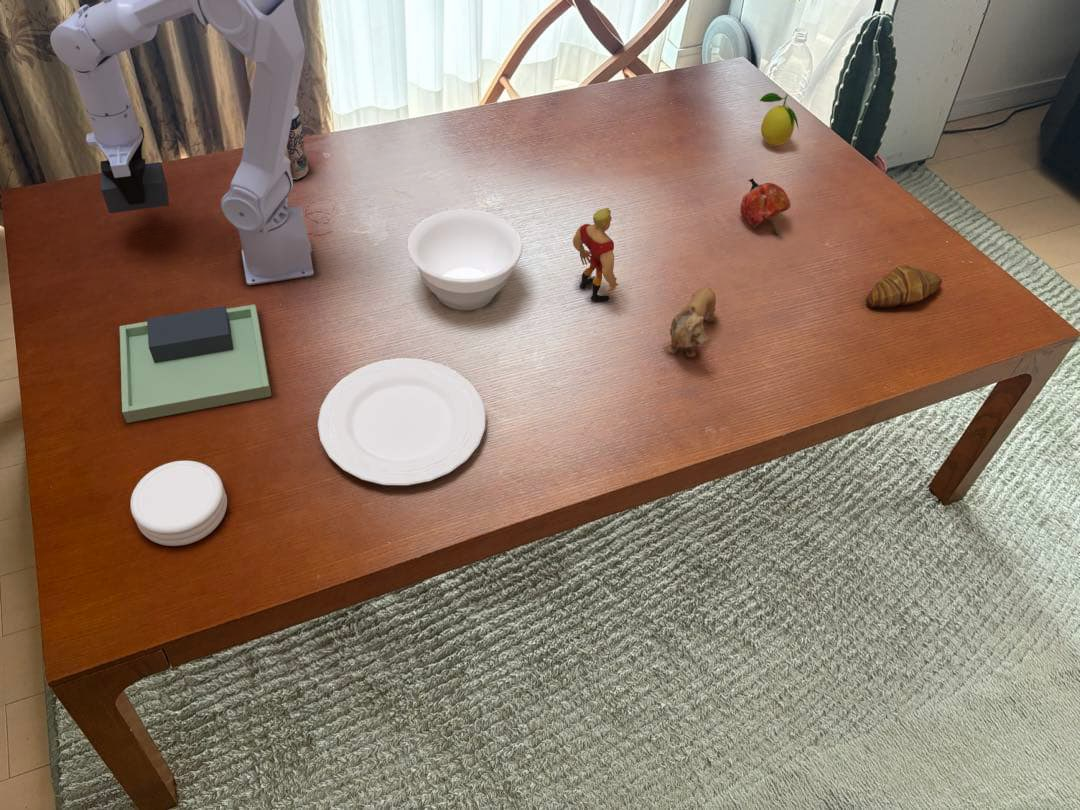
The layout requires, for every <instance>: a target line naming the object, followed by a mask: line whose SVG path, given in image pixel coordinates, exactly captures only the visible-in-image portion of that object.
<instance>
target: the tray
mask: <svg viewBox="0 0 1080 810" xmlns="http://www.w3.org/2000/svg"><path fill="white" fill-rule="evenodd" d="M226 310H227V314H228V318H229V322H230V328H231V335H232V343H233V350H229V351H223V352H217V353H211V354H205V355H200V356H194V357H188V358H182V359H176V360H170V361H164V362H159V363H154V360H153V358H152V355H151V352H150V350H149V345H148V327H147V321H143V322H135V323H131V324H126V325H125V324H124V325H119V352H120V353H119V354H120V389H121V412H122V416H123V417H124V420H125V422H126V423H127V424H129V423H135V422H140V421H146V420H150V419H151V420H152V419H157V418H161V417H168V416H172V415H173V416H174V415H177V414H183V413H188V412H189V413H190V412H194V411H200V410H205V409H211V408H215V407H221V406H226V405H232V404H237V403H243V402H248V401H254V400H260V399H265V398H270V397H272V391H271V385H270V379H269V378H270V377H269V373H268V367H267V361H266V354H265V350H264V344H263V337H262V331H261V325H260V320H259V319H260V318H259V313H258V310H257V305H256V304H249V305H242V306H236V307H235V306H234V307H230V308H226Z"/></svg>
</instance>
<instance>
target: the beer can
mask: <svg viewBox="0 0 1080 810" xmlns="http://www.w3.org/2000/svg"><path fill="white" fill-rule="evenodd" d="M305 146H306V145H305V139H304V133H303V125H302V120H301V114H300V109H299V108H298V107H297V105H296V104H295V107H294V112H293V117H292V122H291V127H290V132H289V137H288V142H287V148H286V153H285V156H286V157H287V158H288V159H289V160H290V161H291V163H290V174H291V177H292V180H299V179H300V178H303V177H305V176H307V174H308V172H309V165H308V158H307V152H306V147H305Z"/></svg>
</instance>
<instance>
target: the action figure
mask: <svg viewBox="0 0 1080 810" xmlns="http://www.w3.org/2000/svg"><path fill="white" fill-rule="evenodd" d="M612 219H613V218H612V216H611V210H610V208H609V207H605V208H600V209H599V210H596V211H595V212H594V213H593V215H592V220H593V223H594V224H590V223H584V224H582V225H581V226H579V227H578V228H577V230H576V232H575V234H574V236H573V238H572V245H573V247H574V249H575V250H577V251H578V252H579V258H580V262H581V263H582V265H583V266H585V265H586V266H587V265H588V264H589V267H586V269H584V270H583V272H582V274H581V282H580V284H579V289H580V290H585V289H586V288H587V286H588V285H591V289H592V291H591V292H592V295H591V296H590V300H591V301H592V302H595V303H597V302H598V303H605V302H608V301H609V300H610V298H611V297H610V295H605V294H604V295H600V294H599V291H600V289H601V287H602V286H601V284H602V281H603V278H604V280H605V281H606V283H607V284H608V287H609V289H607V290H606V291H607V292H609V293H612V292H613V291H614V290H615V289H616V288H617V286H619V283H617V279H618V277H616V276H615V273H614V268H615V254H614V249H615V243H614V241H613V239H611V237H610V236H609V235H608V234H607V233H606V231H608V230H609V229H610V226H611V222H612ZM585 246H586V248H587V249H588V250H587V249H585ZM594 271H595V275H596V276H595V278H593V277H591V276H592V274H593V273H594Z"/></svg>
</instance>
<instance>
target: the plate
mask: <svg viewBox="0 0 1080 810" xmlns="http://www.w3.org/2000/svg"><path fill="white" fill-rule="evenodd" d="M318 413H319V414H318V419H317V429H318V435H319V441H320V444H321V445H322V447H323V449H324V451H325V453H326V454H327V457H328V458H329V459H330V460H331V461H333V462H334V464H336V466H338V467H339V468H340V469H341V470H342V471H343V472H346V473H347V474H349V475H351V476H352V477H353V476H354V477H355V478H357V479H359V480H360V481H363V482H364V481H365V482H368V483H373V484H375V485H380V486H388V487H389V486H391V487H409V486H414V485H419V484H424V483H425V484H426V483H430V482H432V481H435V480H437V479H439V478H442V477H444V476H446V475H449V474H451V473H452V472H454V471H455V470H457V469H458V468H459V467H460V466H462V465H463V464H464V463H466V462H467V461H468V460H469V459H470V458H471V456H472V455H473V454H474V452H476V450H477V449H478V447H479V446H480V444H481V441H482V438H483V436H484V433H485V431H486V416H487V415H486V414H487V413H486V409H485V405H484V402H483V399H482V396H481V395H480V393H479V391H478V390H477V389H476V388H475V386H474V385H473V384H472V382H471V381H469V380H468V379H467V378H466V377H465V376H463V375H462V374H461V373H460V372H459V371H457V370H455V369H453V368H450V367H449V366H446V365H444V364H442V363H439V362H437V361H433V360H428V359H422V358H413V357H412V358H411V357H410V358H409V357H397V358H390V359H384V360H379V361H374V362H372V363H369V364H366V365H364V366H361V367H359V368H357V369H355V370H354V371H352V372H351V373H349V374H347V375H346V376H344V377H343V378H341V379H340V380H339V381H338V382H337V383H336V385H334V386H333V387H332V388H331V389H330V391H328V393H327V395H326V397H325V399H324V400H323V402H322V404H321V405H320V408H319V412H318Z"/></svg>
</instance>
